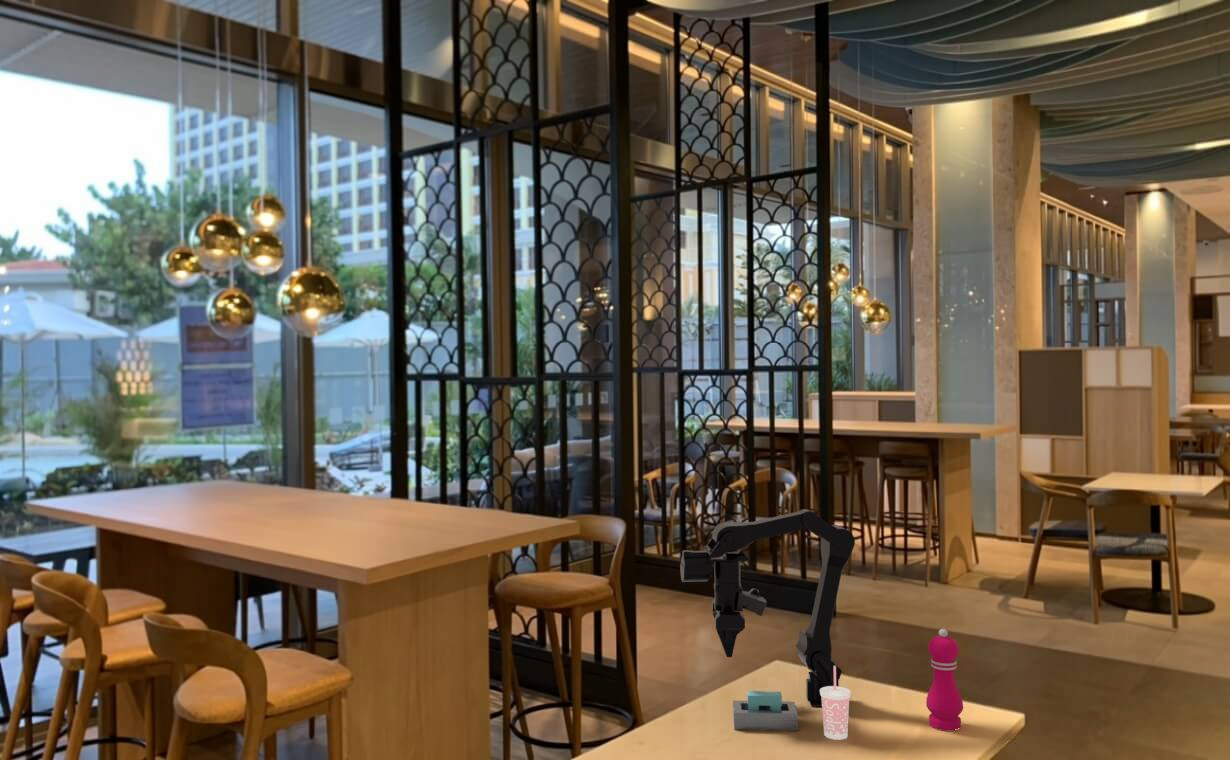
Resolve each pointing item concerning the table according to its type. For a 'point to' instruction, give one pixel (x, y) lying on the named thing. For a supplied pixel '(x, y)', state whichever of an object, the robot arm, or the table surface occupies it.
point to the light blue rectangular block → (764, 700)
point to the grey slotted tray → (765, 717)
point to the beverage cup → (835, 710)
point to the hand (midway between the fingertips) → (727, 651)
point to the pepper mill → (944, 684)
